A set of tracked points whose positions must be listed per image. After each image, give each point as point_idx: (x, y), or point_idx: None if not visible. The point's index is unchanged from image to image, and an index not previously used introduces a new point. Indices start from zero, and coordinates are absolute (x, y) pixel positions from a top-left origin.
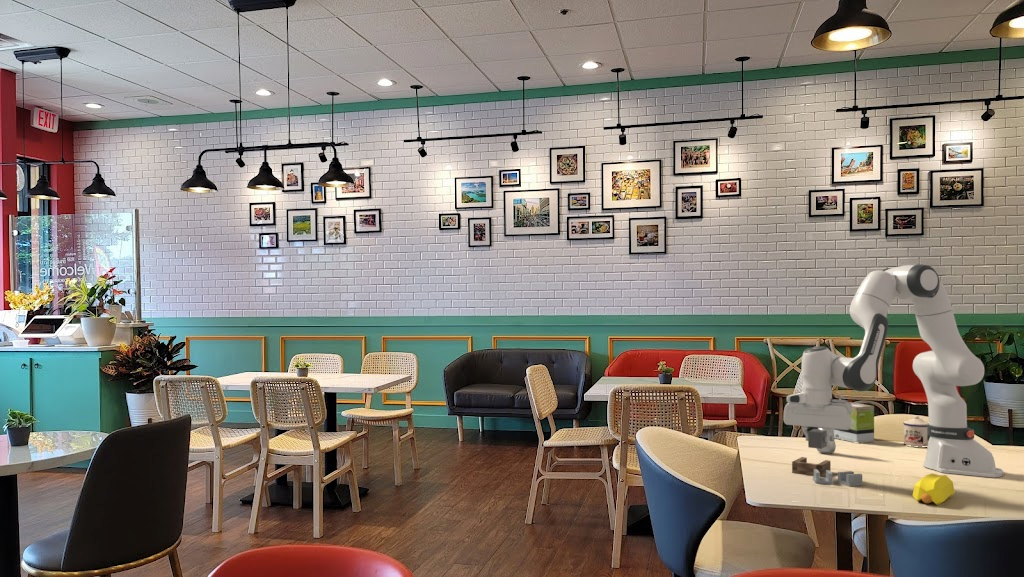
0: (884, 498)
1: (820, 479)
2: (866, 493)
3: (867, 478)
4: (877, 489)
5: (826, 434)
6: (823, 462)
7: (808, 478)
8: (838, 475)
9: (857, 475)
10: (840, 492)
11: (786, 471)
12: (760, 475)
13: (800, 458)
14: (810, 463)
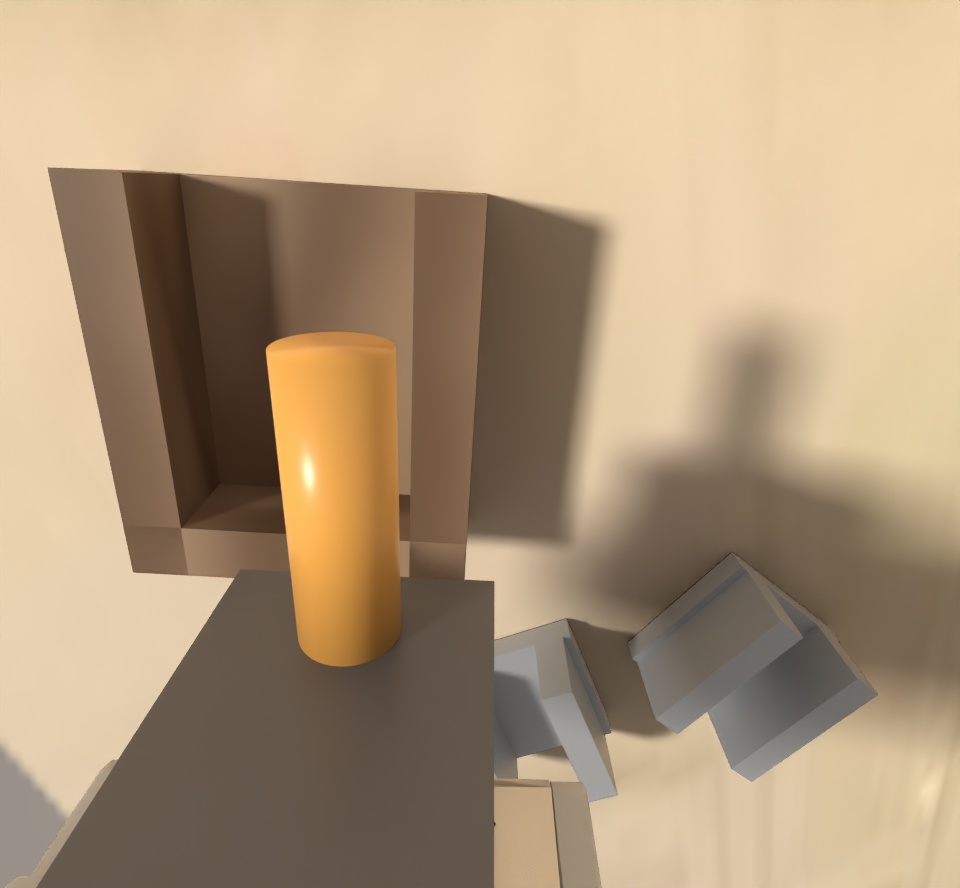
0: (933, 863)
1: (510, 719)
2: (834, 815)
3: (896, 312)
4: (927, 687)
5: (493, 827)
6: (437, 397)
7: None
8: (653, 698)
9: (827, 718)
10: (676, 865)
11: None
12: (71, 736)
13: (94, 309)
14: None
